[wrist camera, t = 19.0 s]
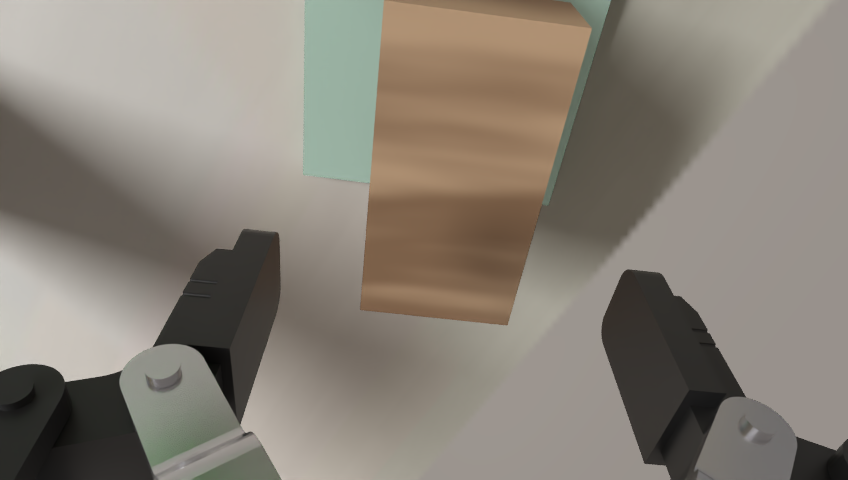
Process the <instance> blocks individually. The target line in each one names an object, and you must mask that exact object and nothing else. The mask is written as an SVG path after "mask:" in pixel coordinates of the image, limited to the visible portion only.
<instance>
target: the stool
mask: <svg viewBox="0 0 848 480" xmlns="http://www.w3.org/2000/svg"><path fill="white" fill-rule="evenodd" d="M591 30H592V28H591V27H590V25H589V24H588V23H587V22H586V20H585V19H584V18H583V17H582V16H581V14H580V13H579V12H578V11H577V10H576V8H575V7H574V6H573V5H572V4H571V3H570V2H563V1H556V0H384V5H383V18H382V31H381V44H380V57H379V70H378V84H377V97H376V110H375V123H374V136H373V149H372V162H371V175H370V188H369V201H368V214H367V227H366V240H365V254H364V267H363V280H362V293H361V306H360V310H366V311H376V312H385V313H395V314H404V315H414V316H423V317H433V318H442V319H452V320H461V321H471V322H480V323H490V324H499V325H508V321H509V318H510V314H511V311H512V307H513V304H514V300H515V297H516V293H517V290H518V286H519V283H520V279H521V276H522V272H523V269H524V265H525V262H526V258H527V255H528V251H529V248H530V244H531V241H532V237H533V234H534V230H535V227H536V223H537V220H538V216H539V213H540V209H541V206H542V202H543V199H544V195H545V192H546V188H547V185H548V181H549V178H550V174H551V171H552V167H553V164H554V160H555V157H556V153H557V150H558V146H559V142H560V139H561V135H562V132H563V128H564V125H565V121H566V118H567V114H568V111H569V107H570V104H571V100H572V97H573V93H574V90H575V86H576V83H577V79H578V76H579V72H580V69H581V65H582V62H583V58H584V55H585V51H586V48H587V44H588V41H589V37H590V34H591Z"/></svg>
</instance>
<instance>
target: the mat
mask: <svg viewBox="0 0 848 480" xmlns="http://www.w3.org/2000/svg"><path fill="white" fill-rule="evenodd" d="M556 1H563V2H570V3H571V4H572V5H573V6H574V7H575V8H576V10H577V11H578V12H579V13H580V14H581V16H582V17H583V18H584V19H585V20H586V22H587V23H588V24H589V25H590V27H591V28H592V30H591V34H590V37H589V41H588V44H587V48H586V51H585V55H584V58H583V62H582V65H581V69H580V72H579V76H578V79H577V83H576V86H575V90H574V93H573V97H572V100H571V104H570V107H569V111H568V114H567V118H566V121H565V125H564V128H563V132H562V135H561V139H560V142H559V146H558V150H557V153H556V157H555V160H554V164H553V167H552V171H551V174H550V178H549V181H548V185H547V188H546V192H545V195H544V199H543V202H542V205H547V206H548V205H549V202H550V199H551V196H552V192H553V189H554V186H555V183H556V179H557V176H558V173H559V169H560V166H561V163H562V160H563V156H564V153H565V150H566V146H567V143H568V140H569V137H570V133H571V130H572V127H573V124H574V120H575V117H576V114H577V110H578V107H579V104H580V101H581V97H582V94H583V91H584V88H585V84H586V81H587V78H588V74H589V71H590V68H591V65H592V61H593V58H594V55H595V51H596V48H597V45H598V42H599V38H600V35H601V32H602V29H603V25H604V22H605V19H606V15H607V12H608V9H609V6H610V2H611V0H556ZM383 5H384V0H305V44H304V150H303V175H308V176H316V177H324V178H332V179H340V180H348V181H356V182H364V183H370V175H371V162H372V149H373V136H374V123H375V110H376V97H377V84H378V70H379V57H380V44H381V31H382V18H383Z"/></svg>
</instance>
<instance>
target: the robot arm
mask: <svg viewBox="0 0 848 480" xmlns="http://www.w3.org/2000/svg"><path fill="white" fill-rule="evenodd" d="M279 298H280V245H279V234H278V233H277V232H268V231H259V230H249V229H244V230H243V231H242V232H241V234H240V236H239V238H238V240H237V242H236V245H235V247H234V249H233V250H225V249H216V250H214V251H213V252H212V253H211V254H209V255H208V256H207V257H205V258H204V259H203V260H201V261H200V262H199V264H198V265H197V267H196V269H195V271H194V273H193V275H192V276H191V278H190V282H188V284H187V286H186V287H185V289H184V291H183V295H182V296H180V298H179V300H178V302H177V304H176V306H175V307H174V309H173V311H172V313H171V315H170V317H169V318H168V320H167V322H166V324H165V326H164V328H163V329H162V331H161V333H160V335H159V337H158V339H157V340H156V342H155V344H154V346H153V347H152V348H150V349H147V350H145V351H143V352H141V353H139V354H138V355H136V356H135V357H134V358H132V359H131V360H130V361H129V362H128V363H127V365H126V366H125V367H124V369H123V370H122V371H120V372H117V373H114V374H110V375H106V376H101V377H95V378H88V379H82V380H76V381H70V382H65V381H64V378H63V376H62V375H61V374H60V372H58V371H57V370H56V369H54V368H52V367H49V366H45V365H38V364H28V365H21V366H16V367H12V368H9V369H6V370H3V371H1V372H0V480H281V478H280V476H279V474H278V472H277V471H276V469H275V467H274V465H273V464H272V462H271V460H270V458H269V456H268V455H267V453H266V451H265V449H264V448H263V446H262V444H261V442H260V441H259V439H258V438H257V436H256V435H255V434H254V433H253V432H248V433H245V432H244V430H243V429H242V427H241V425H240V424H241V421H242V418H243V415H244V411H245V408H246V405H247V402H248V399H249V396H250V393H251V390H252V387H253V384H254V381H255V377H256V374H257V371H258V368H259V365H260V362H261V359H262V356H263V353H264V350H265V347H266V344H267V340H268V337H269V334H270V331H271V328H272V325H273V322H274V319H275V316H276V313H277V309H278V304H279ZM602 341H603V345H604V348H605V351H606V354H607V356H608V359H609V362H610V365H611V368H612V371H613V374H614V377H615V380H616V383H617V385H618V388H619V391H620V394H621V397H622V400H623V403H624V405H625V408H626V411H627V414H628V417H629V420H630V423H631V426H632V429H633V432H634V434H635V437H636V440H637V443H638V446H639V449H640V452H641V455H642V458H643V460H644V463H645V464H655V465H666V467H667V469H668V472H669V475H670V477H671V479H670V480H848V439H847V440H846V441H845V442H844V443H843V444H842V445H841V446H840V447H839V448H838V450H837V451H835V450H833V449H830V448H827V447H824V446H821V445H818V444H815V443H813V442H809V441H807V440H804V439H801V438H798V437H796V436H795V434H794V432H793V430H792V428H791V427H790V426H789V424H788V423H787V422H786V421H785V420H784V419H783V418H782V417H781V416H780V415H779V414H778V413H776V412H775V411H774V410H772V409H771V408H769V407H768V406H766V405H764V404H762V403H760V402H758V401H756V400H753V399H749V398H746V396H745V395H744V393H743V391H742V389H741V388H740V386H739V384H738V382H737V381H736V379H735V377H734V375H733V374H732V372H731V370H730V369H729V367H728V365H727V363H726V362H725V360H724V358H723V356H722V354H721V353H720V351H719V349H718V348H716V347H715V342H714V340H713V339H712V337H711V335H710V334H709V333H707V328H706V326H705V325H704V323H703V321H702V320H701V318H700V316H699V314H698V313H697V312H696V311H695V310H694V309H693V308H692V307H691V306H690V305H689V304H688V303H687V302H686V301H685V300H684V299H683V298H682V297H680V296H674V295H673V293H672V291H671V290H670V288H669V286H668V284H667V282H666V280H665V278H664V277H663V275H662V274H660V273H656V272H647V271H637V270H626V271H624V273H623V274H622V276H621V278H620V280H619V283H618V285H617V287H616V290H615V292H614V294H613V297H612V299H611V301H610V304H609V306H608V309H607V311H606V313H605V316H604V318H603V322H602Z"/></svg>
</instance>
